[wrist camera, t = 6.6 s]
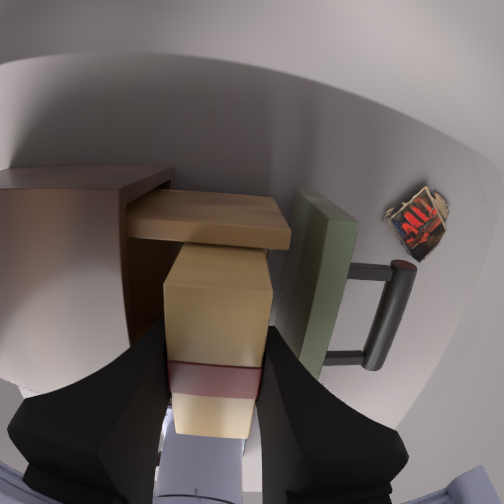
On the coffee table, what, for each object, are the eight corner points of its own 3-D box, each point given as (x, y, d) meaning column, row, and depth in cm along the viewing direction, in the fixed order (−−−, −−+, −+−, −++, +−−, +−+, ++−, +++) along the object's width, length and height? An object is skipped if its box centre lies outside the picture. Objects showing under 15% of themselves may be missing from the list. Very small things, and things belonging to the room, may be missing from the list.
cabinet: (174, 166, 17) (119, 188, 9) (172, 331, 21) (146, 422, 13) (8, 168, 16) (-75, 193, 8) (26, 306, 20) (-29, 364, 12)
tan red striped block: (247, 382, 14) (250, 440, 10) (184, 377, 14) (174, 434, 10) (265, 247, 11) (276, 293, 8) (183, 240, 11) (160, 283, 8)
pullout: (382, 200, 17) (446, 234, 11) (347, 340, 20) (378, 408, 14) (103, 176, 16) (37, 198, 10) (113, 323, 19) (77, 388, 13)
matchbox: (421, 265, 19) (424, 267, 19) (375, 226, 18) (378, 228, 18) (455, 214, 18) (459, 216, 18) (413, 169, 17) (417, 170, 17)
